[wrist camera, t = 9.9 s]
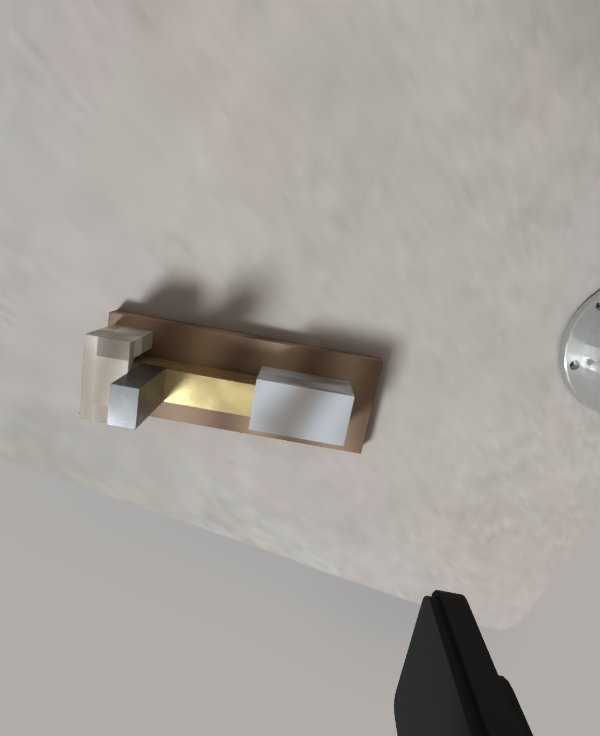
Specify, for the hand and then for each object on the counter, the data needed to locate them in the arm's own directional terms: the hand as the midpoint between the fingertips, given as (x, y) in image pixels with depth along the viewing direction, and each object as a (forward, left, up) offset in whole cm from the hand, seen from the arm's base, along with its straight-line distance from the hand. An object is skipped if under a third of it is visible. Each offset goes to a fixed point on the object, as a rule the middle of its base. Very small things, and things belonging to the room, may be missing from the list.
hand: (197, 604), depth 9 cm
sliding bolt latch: (0, +6, -32) cm, 32 cm away
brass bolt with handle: (+2, +7, -30) cm, 31 cm away
